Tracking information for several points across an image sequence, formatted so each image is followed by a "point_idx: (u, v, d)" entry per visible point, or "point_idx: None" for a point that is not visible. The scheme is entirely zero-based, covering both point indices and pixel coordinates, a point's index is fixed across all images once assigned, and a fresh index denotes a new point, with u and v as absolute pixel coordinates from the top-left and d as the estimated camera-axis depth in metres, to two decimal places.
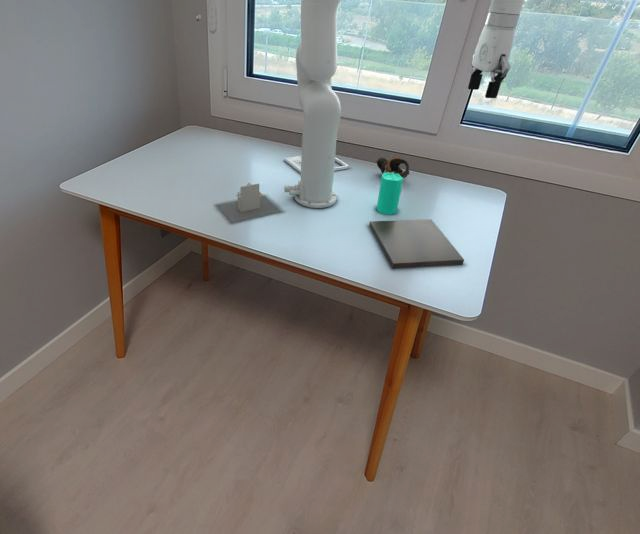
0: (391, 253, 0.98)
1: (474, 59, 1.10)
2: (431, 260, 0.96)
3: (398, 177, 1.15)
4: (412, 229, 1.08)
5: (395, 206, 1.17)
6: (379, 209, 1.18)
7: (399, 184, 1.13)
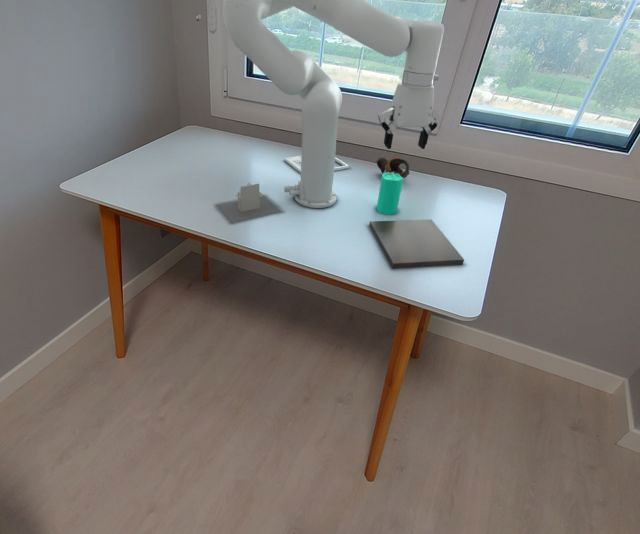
0: (391, 253, 0.98)
1: None
2: (431, 260, 0.96)
3: (398, 177, 1.15)
4: (412, 229, 1.08)
5: (395, 206, 1.17)
6: (379, 209, 1.18)
7: (399, 184, 1.13)
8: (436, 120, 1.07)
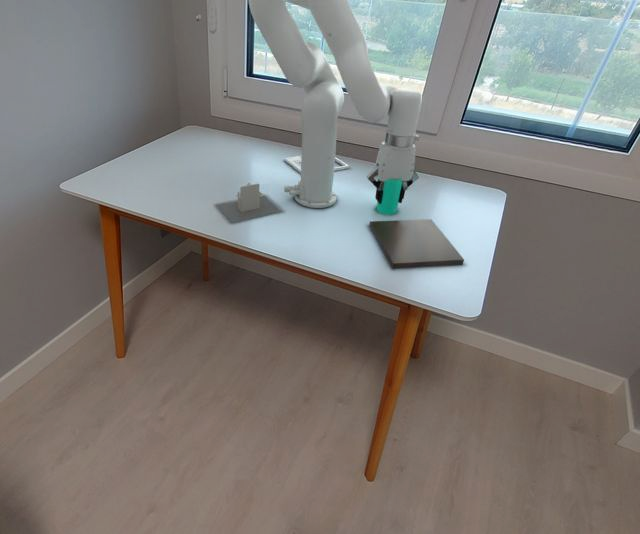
0: (391, 253, 0.98)
1: None
2: (431, 260, 0.96)
3: None
4: (412, 229, 1.08)
5: (395, 206, 1.17)
6: (379, 209, 1.18)
7: (399, 184, 1.13)
8: (413, 178, 1.15)
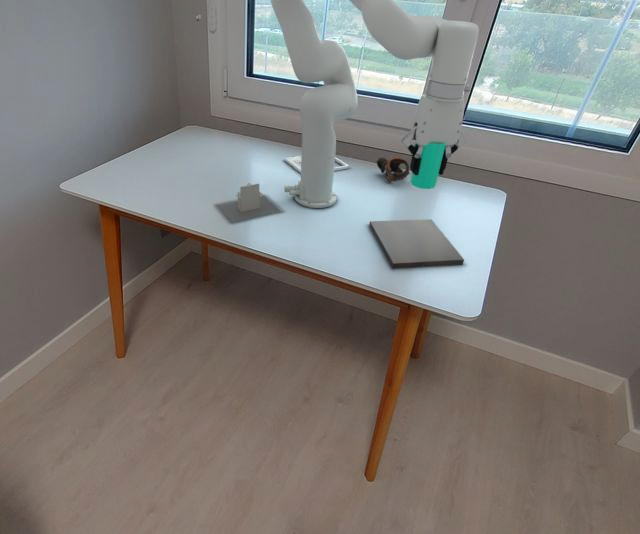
0: (391, 253, 0.98)
1: None
2: (431, 260, 0.96)
3: None
4: (412, 229, 1.08)
5: (435, 178, 0.93)
6: (414, 182, 0.95)
7: (441, 149, 0.89)
8: (458, 143, 0.91)
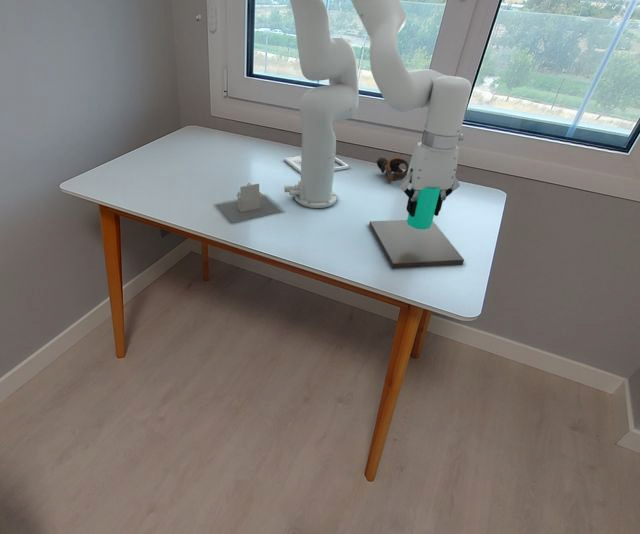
0: (391, 253, 0.98)
1: None
2: (431, 260, 0.96)
3: None
4: (412, 229, 1.08)
5: (430, 220, 0.97)
6: (410, 223, 0.98)
7: (436, 193, 0.93)
8: (453, 186, 0.95)
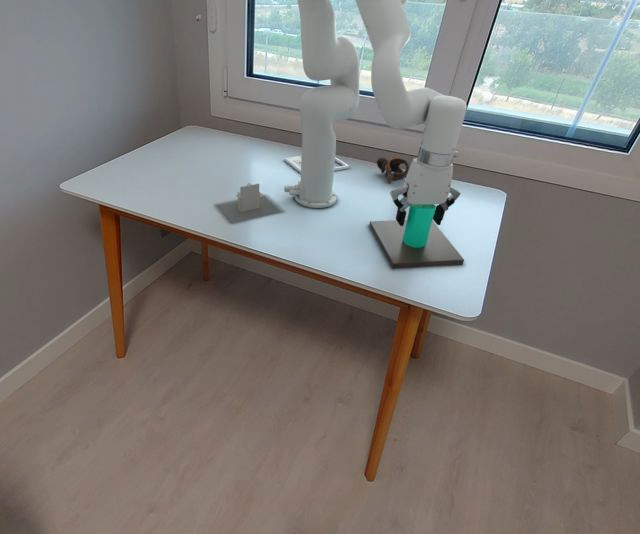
0: (391, 253, 0.98)
1: None
2: (431, 260, 0.96)
3: (429, 205, 0.98)
4: None
5: (425, 238, 1.00)
6: (406, 241, 1.01)
7: (431, 214, 0.96)
8: (454, 196, 0.97)
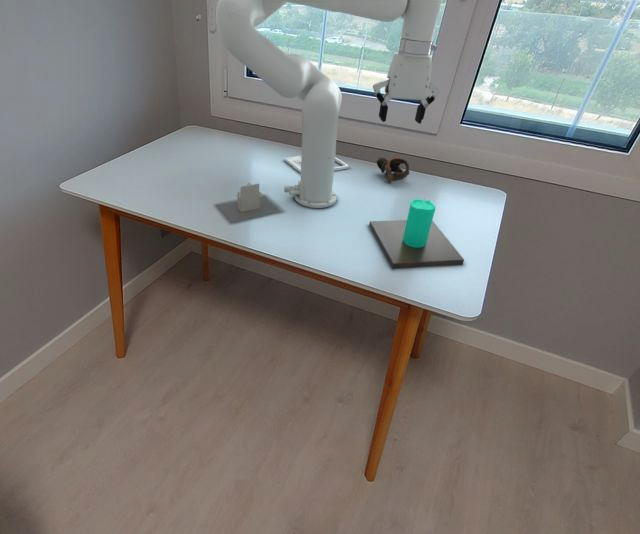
0: (391, 253, 0.98)
1: None
2: (431, 260, 0.96)
3: (429, 205, 0.98)
4: None
5: (425, 238, 1.00)
6: (406, 241, 1.01)
7: (431, 213, 0.96)
8: (434, 93, 1.03)
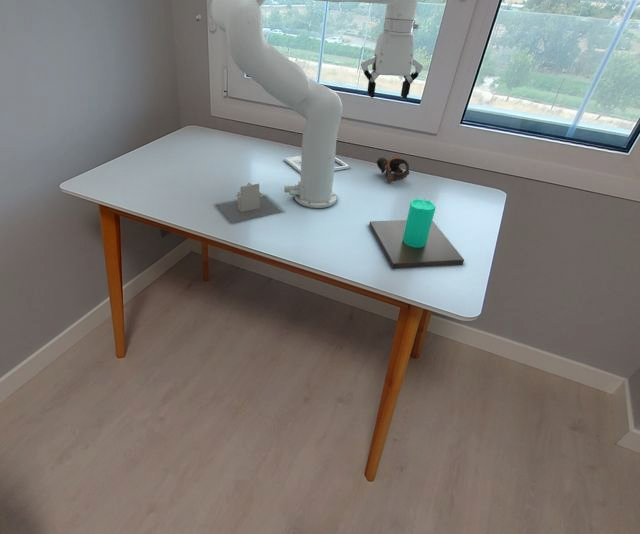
0: (391, 253, 0.98)
1: None
2: (431, 260, 0.96)
3: (429, 205, 0.98)
4: None
5: (425, 238, 1.00)
6: (406, 241, 1.01)
7: (431, 213, 0.96)
8: (417, 69, 1.11)
